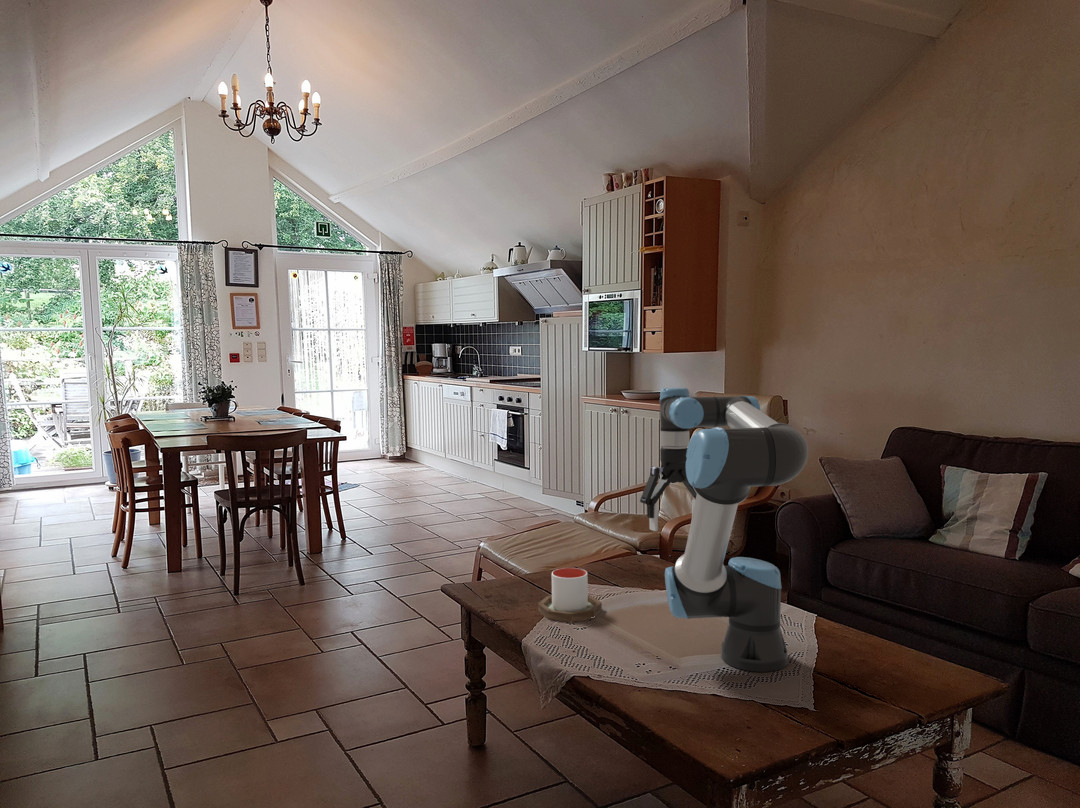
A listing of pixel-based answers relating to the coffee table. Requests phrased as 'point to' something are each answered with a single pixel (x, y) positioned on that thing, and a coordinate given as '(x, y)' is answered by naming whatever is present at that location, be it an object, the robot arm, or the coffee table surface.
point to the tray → (553, 614)
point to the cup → (569, 589)
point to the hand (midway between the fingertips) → (675, 527)
